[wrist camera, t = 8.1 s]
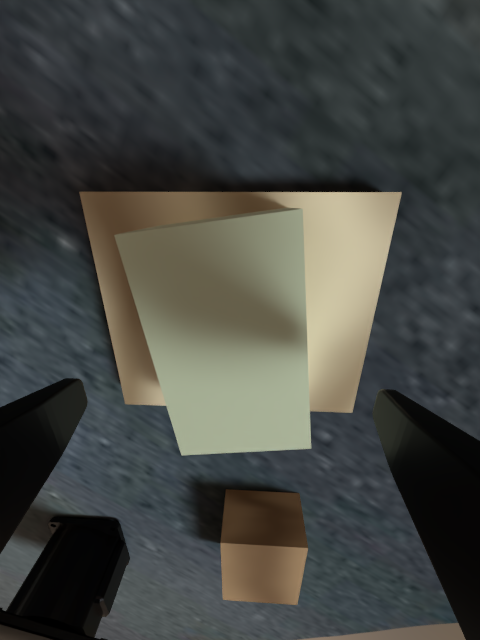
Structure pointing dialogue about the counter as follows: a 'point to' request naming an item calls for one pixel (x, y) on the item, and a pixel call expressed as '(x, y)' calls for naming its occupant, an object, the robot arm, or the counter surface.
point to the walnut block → (262, 546)
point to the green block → (226, 327)
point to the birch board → (320, 276)
